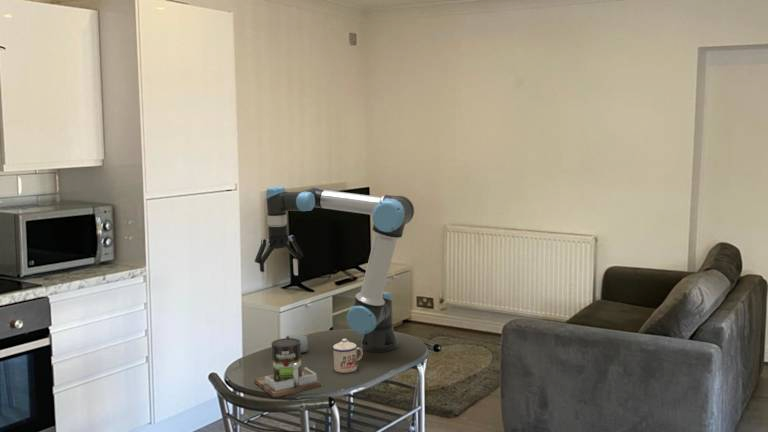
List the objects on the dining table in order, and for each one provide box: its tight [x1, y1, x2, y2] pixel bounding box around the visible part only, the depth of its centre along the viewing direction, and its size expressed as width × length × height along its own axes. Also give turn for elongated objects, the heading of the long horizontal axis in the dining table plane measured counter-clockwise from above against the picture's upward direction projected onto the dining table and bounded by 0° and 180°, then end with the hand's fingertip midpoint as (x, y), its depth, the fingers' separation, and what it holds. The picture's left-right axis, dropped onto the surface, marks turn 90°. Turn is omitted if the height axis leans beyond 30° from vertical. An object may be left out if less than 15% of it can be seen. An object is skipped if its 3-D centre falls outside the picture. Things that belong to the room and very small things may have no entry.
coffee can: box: [271, 337, 303, 382], centre depth 274 cm, size 10×10×14 cm
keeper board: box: [254, 369, 322, 398], centre depth 275 cm, size 18×18×2 cm
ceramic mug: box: [285, 333, 310, 354], centre depth 312 cm, size 11×8×8 cm
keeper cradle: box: [264, 363, 318, 392], centre depth 271 cm, size 10×16×9 cm, turn 120°
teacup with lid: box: [332, 338, 364, 374], centre depth 289 cm, size 12×9×12 cm
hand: (280, 277), depth 311 cm, fingers open, 13 cm apart
